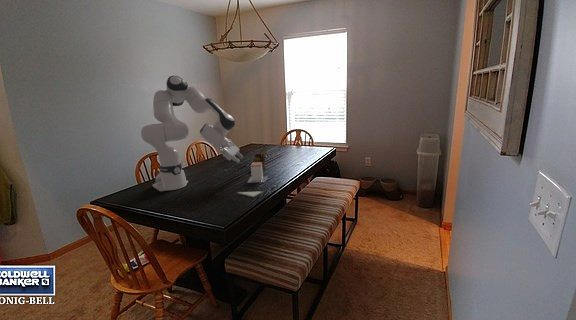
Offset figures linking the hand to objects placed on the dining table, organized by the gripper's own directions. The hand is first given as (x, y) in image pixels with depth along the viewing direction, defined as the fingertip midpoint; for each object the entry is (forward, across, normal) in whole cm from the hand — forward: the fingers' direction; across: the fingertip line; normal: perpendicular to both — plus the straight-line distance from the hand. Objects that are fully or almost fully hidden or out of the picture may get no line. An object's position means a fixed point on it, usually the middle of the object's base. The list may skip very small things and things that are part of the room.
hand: (241, 159), depth 172 cm
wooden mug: (+16, +21, +4) cm, 27 cm away
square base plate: (+16, -1, +3) cm, 17 cm away
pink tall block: (+15, -1, +2) cm, 16 cm away
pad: (+16, -19, +3) cm, 25 cm away
